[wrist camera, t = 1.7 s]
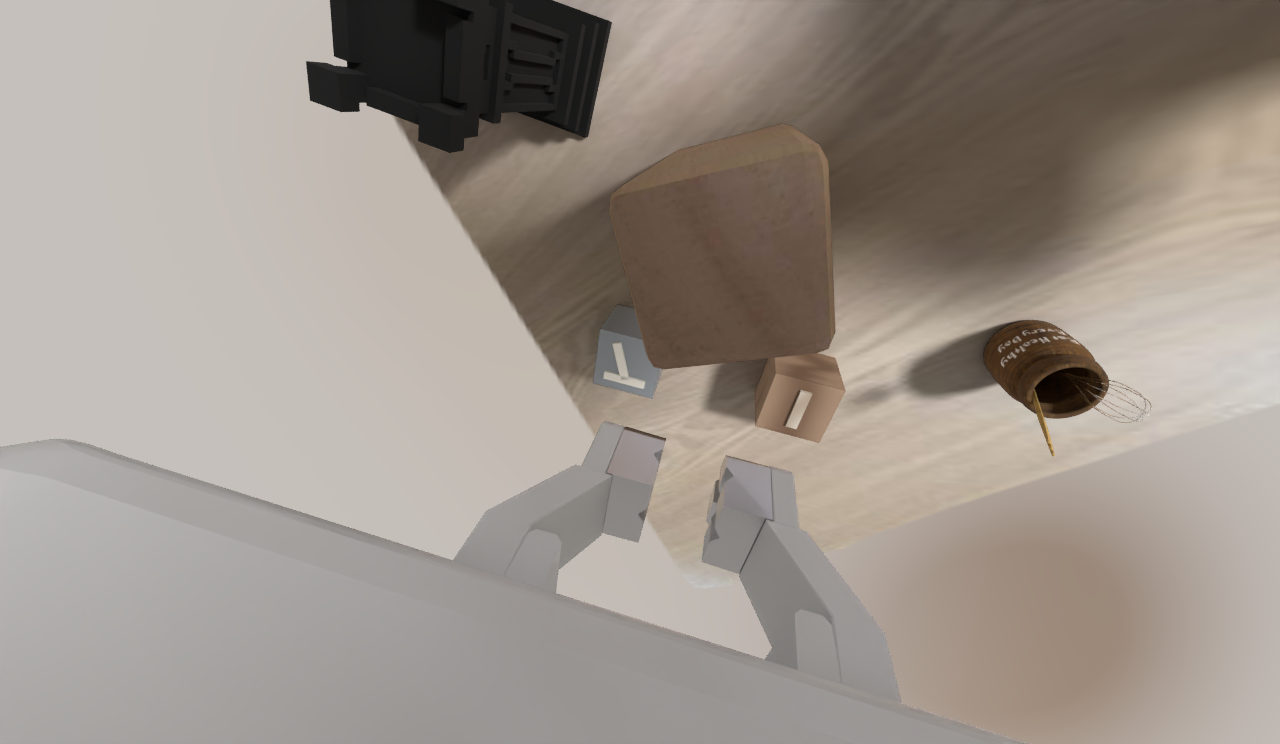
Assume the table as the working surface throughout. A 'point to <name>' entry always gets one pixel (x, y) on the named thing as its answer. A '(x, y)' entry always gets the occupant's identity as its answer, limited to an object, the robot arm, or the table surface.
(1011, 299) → the table surface
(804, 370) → the walnut numbered cube
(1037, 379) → the utensil holder
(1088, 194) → the table surface
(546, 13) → the chess piece
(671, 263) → the block
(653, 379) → the slate numbered cube
